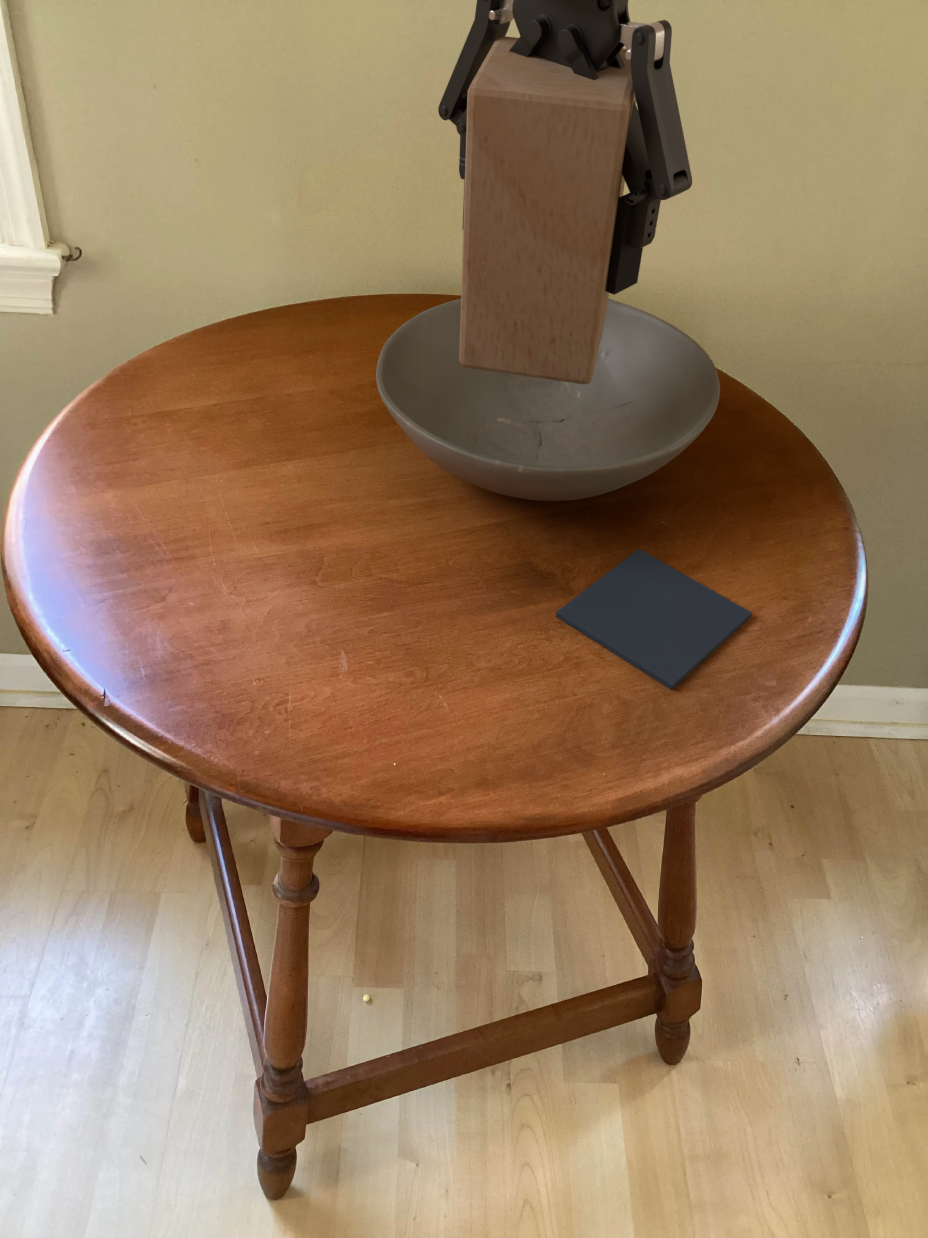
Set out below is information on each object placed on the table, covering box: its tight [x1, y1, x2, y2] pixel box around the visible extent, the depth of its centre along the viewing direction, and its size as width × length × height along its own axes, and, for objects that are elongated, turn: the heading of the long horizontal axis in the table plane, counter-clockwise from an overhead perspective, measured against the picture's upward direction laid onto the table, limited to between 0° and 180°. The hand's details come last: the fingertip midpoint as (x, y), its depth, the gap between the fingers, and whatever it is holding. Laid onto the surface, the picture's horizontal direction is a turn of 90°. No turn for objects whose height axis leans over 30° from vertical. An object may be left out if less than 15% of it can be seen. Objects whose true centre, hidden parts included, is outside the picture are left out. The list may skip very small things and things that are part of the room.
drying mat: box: [555, 548, 753, 690], centre depth 74 cm, size 10×10×1 cm
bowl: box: [375, 297, 721, 502], centre depth 86 cm, size 27×28×8 cm
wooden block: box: [459, 36, 637, 384], centre depth 74 cm, size 10×10×20 cm
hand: (546, 255), depth 76 cm, fingers closed on wooden block, 13 cm apart
